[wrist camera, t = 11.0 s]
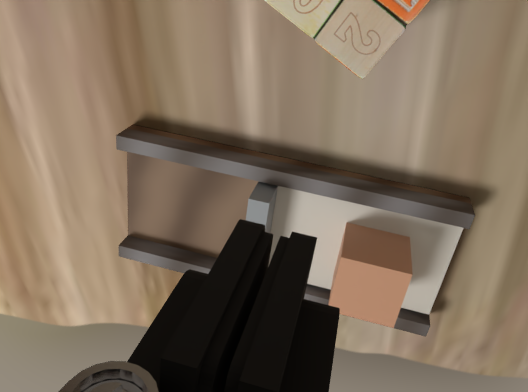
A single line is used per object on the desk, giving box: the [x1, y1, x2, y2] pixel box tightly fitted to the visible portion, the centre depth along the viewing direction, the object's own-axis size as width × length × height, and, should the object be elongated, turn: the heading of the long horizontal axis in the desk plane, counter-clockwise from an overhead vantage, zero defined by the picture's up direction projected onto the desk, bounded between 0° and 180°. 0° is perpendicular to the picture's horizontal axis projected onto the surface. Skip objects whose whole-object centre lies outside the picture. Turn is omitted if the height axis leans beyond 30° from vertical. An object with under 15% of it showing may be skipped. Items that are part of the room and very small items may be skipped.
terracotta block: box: [328, 223, 413, 328], centre depth 36 cm, size 5×5×5 cm
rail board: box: [116, 125, 475, 336], centre depth 40 cm, size 28×12×3 cm, turn 83°
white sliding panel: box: [246, 181, 463, 315], centre depth 38 cm, size 16×9×4 cm, turn 83°
